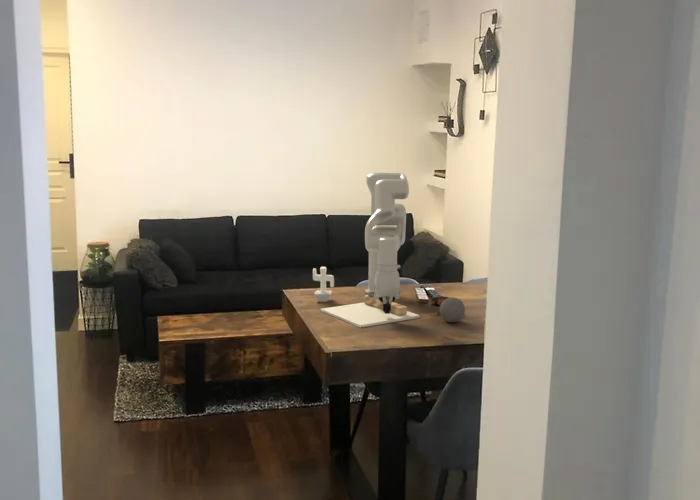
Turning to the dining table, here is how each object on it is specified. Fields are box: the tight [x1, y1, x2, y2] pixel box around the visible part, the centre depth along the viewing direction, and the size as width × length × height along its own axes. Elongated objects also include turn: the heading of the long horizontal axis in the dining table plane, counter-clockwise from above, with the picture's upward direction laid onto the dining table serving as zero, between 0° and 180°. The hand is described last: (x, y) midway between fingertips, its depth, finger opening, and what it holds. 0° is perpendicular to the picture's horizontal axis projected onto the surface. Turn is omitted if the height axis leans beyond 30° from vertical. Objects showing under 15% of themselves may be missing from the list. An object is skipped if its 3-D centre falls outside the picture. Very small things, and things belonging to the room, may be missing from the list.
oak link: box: [364, 291, 408, 315], centre depth 318 cm, size 25×6×5 cm, turn 34°
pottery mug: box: [430, 296, 450, 317], centre depth 315 cm, size 12×10×8 cm
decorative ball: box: [439, 296, 466, 323], centre depth 301 cm, size 10×10×10 cm
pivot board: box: [320, 301, 420, 329], centre depth 313 cm, size 29×30×1 cm
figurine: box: [312, 266, 335, 303], centre depth 335 cm, size 7×9×15 cm
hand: (386, 312), depth 304 cm, fingers closed
